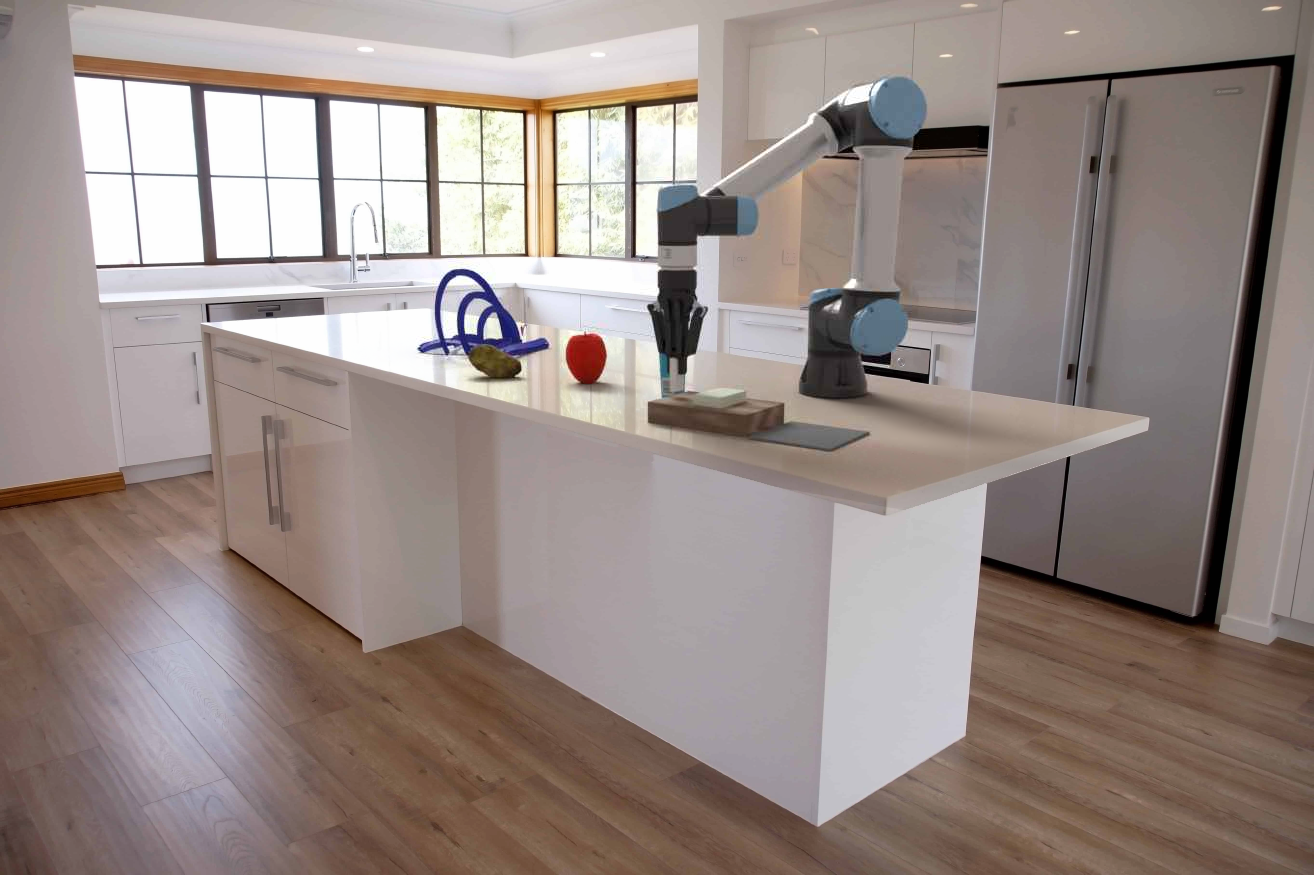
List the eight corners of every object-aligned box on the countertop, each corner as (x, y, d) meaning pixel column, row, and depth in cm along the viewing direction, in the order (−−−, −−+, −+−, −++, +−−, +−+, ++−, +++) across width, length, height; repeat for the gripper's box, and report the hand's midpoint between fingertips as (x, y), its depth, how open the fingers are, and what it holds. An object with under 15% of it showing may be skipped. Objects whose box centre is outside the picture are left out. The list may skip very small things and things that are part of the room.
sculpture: (505, 360, 261) (495, 264, 257) (401, 365, 274) (389, 274, 270) (564, 347, 293) (555, 261, 289) (467, 352, 306) (458, 270, 302)
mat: (791, 423, 184) (791, 421, 183) (869, 433, 174) (869, 431, 174) (747, 438, 171) (747, 436, 171) (829, 451, 162) (829, 448, 162)
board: (688, 410, 196) (688, 390, 195) (784, 423, 183) (784, 402, 182) (647, 422, 185) (647, 401, 184) (746, 436, 172) (746, 415, 171)
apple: (584, 377, 236) (583, 327, 233) (616, 381, 231) (615, 330, 228) (557, 383, 228) (556, 331, 226) (589, 387, 223) (588, 334, 220)
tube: (689, 398, 209) (689, 309, 205) (690, 402, 204) (690, 311, 200) (655, 398, 209) (654, 309, 205) (655, 402, 204) (654, 311, 200)
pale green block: (719, 397, 188) (719, 387, 188) (746, 400, 185) (746, 390, 184) (693, 404, 181) (693, 394, 180) (720, 408, 177) (720, 397, 177)
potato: (504, 381, 231) (502, 348, 229) (464, 377, 238) (462, 344, 236) (526, 376, 238) (524, 344, 236) (486, 372, 245) (485, 341, 243)
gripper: (638, 268, 184) (638, 389, 189) (694, 270, 176) (693, 397, 181) (661, 266, 190) (661, 384, 195) (716, 268, 182) (715, 391, 187)
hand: (676, 390), depth 188 cm, fingers closed
